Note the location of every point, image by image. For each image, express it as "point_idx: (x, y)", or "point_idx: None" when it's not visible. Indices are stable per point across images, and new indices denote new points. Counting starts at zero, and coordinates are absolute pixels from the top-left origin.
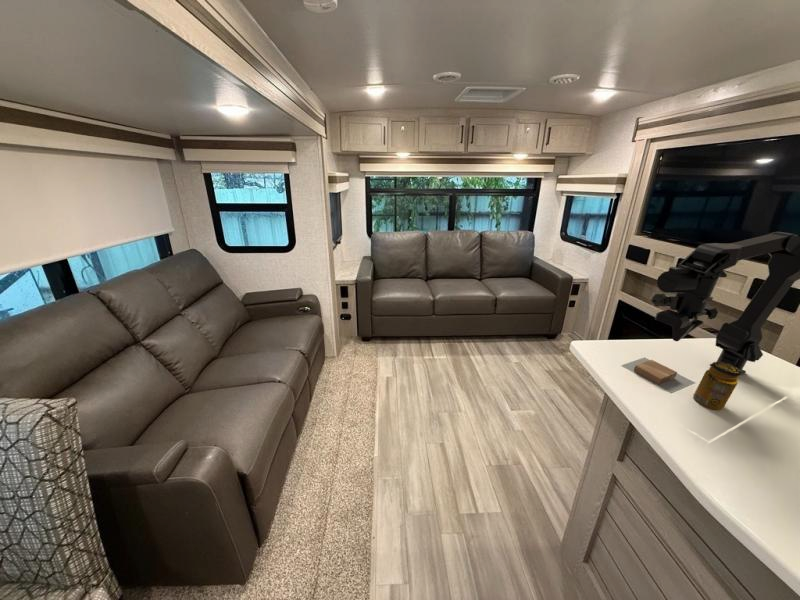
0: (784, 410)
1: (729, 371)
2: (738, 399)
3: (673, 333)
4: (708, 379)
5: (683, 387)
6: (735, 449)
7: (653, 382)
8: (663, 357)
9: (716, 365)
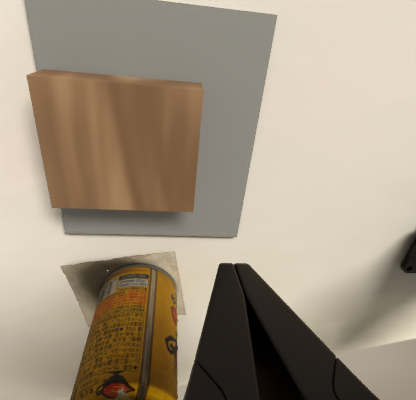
0: None
1: None
2: None
3: (203, 326)
4: (74, 385)
5: (154, 234)
6: (9, 369)
7: None
8: (379, 72)
9: None
